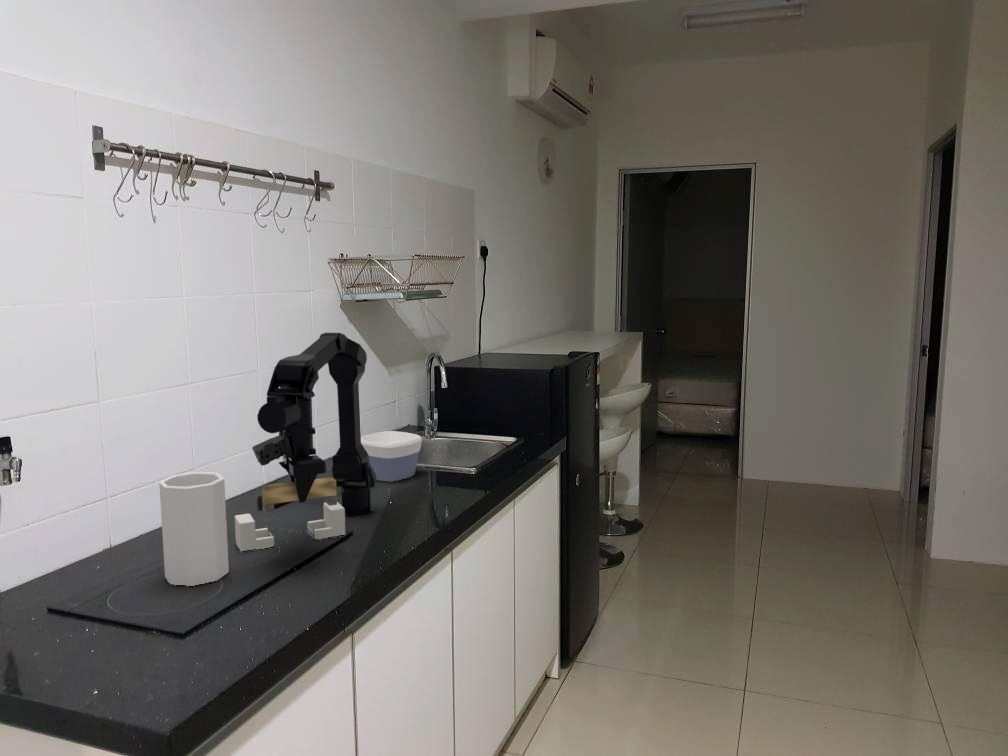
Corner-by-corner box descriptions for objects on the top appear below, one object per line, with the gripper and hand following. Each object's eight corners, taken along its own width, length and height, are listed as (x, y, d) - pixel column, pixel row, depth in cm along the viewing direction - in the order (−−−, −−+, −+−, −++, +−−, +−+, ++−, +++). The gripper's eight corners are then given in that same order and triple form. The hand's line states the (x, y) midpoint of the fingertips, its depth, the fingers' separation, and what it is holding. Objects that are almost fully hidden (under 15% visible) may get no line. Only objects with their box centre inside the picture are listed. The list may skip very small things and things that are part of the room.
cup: (190, 592, 136) (184, 491, 133) (151, 579, 142) (145, 481, 139) (241, 571, 145) (237, 476, 143) (203, 560, 151) (198, 468, 149)
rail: (332, 500, 158) (332, 477, 157) (336, 504, 155) (336, 480, 155) (262, 510, 151) (261, 485, 151) (265, 514, 149) (264, 489, 148)
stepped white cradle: (337, 526, 171) (336, 500, 170) (345, 536, 165) (345, 509, 164) (235, 542, 161) (234, 515, 160) (241, 553, 155) (239, 524, 154)
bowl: (390, 466, 224) (389, 429, 223) (430, 474, 215) (429, 435, 214) (350, 477, 212) (349, 438, 210) (391, 487, 203) (390, 445, 201)
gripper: (246, 418, 155) (249, 493, 157) (264, 435, 139) (268, 519, 141) (301, 414, 161) (304, 486, 163) (325, 430, 144) (328, 510, 146)
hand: (300, 500), depth 153 cm, fingers closed on rail, 3 cm apart
